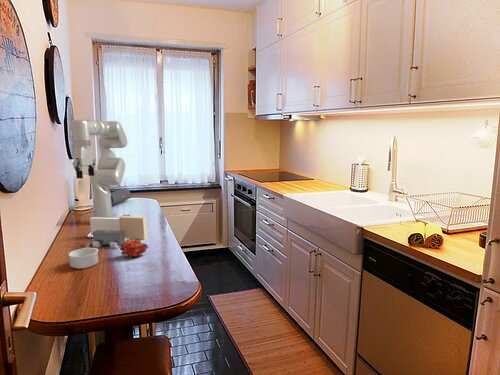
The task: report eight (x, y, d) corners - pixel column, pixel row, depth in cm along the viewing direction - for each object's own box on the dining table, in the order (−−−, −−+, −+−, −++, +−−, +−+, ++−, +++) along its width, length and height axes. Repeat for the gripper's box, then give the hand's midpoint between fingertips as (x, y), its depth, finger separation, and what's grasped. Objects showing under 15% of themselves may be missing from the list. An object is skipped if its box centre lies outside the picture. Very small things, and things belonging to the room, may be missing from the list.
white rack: (94, 235, 195) (92, 215, 193) (147, 237, 189) (145, 216, 187) (72, 246, 178) (69, 223, 176) (129, 249, 172) (127, 226, 170)
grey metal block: (98, 241, 182) (97, 230, 181) (125, 242, 180) (124, 230, 179) (93, 244, 178) (92, 232, 177) (120, 245, 176) (119, 233, 175)
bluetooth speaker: (114, 207, 261) (113, 193, 259) (103, 207, 263) (101, 193, 261) (132, 201, 283) (131, 188, 281) (121, 200, 285) (120, 187, 283)
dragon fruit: (118, 260, 162) (147, 261, 165) (117, 254, 155) (147, 256, 158) (121, 241, 166) (148, 243, 169) (120, 235, 159) (149, 237, 162)
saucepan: (103, 252, 169) (102, 240, 168) (97, 268, 150) (96, 255, 149) (76, 255, 166) (74, 243, 165) (66, 271, 147) (65, 258, 146)
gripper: (86, 143, 201) (89, 174, 204) (64, 145, 185) (68, 179, 187) (99, 143, 200) (101, 174, 203) (78, 145, 183) (81, 179, 186)
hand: (85, 176), depth 195 cm, fingers open, 9 cm apart
